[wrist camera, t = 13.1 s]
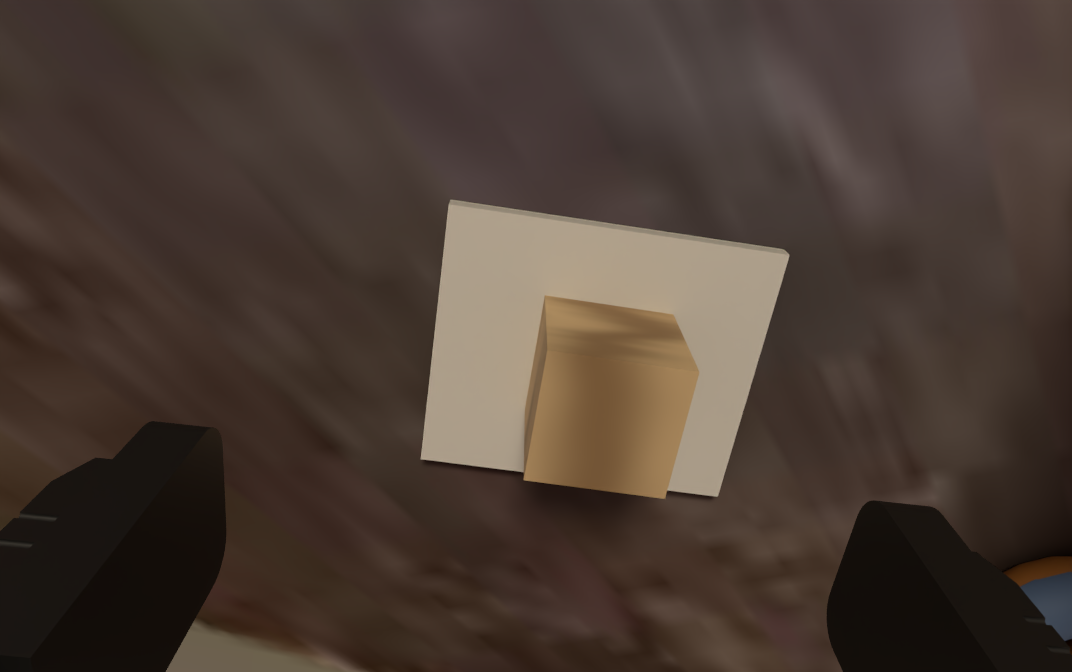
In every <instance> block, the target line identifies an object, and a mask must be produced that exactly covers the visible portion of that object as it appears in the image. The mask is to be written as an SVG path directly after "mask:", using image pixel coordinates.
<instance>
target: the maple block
mask: <svg viewBox="0 0 1072 672" xmlns="http://www.w3.org/2000/svg"><path fill="white" fill-rule="evenodd" d="M698 376H699V370H698V367H697V365H696V363H695V361H694V359H693V356H692V354H691V352H690V350H689V348H688V345H687V343H686V341H685V339H684V337H683V334H682V332H681V330H680V328H679V326H678V323H677V321H676V319H675V317H674V315H673V314H667V313H661V312H654V311H647V310H640V309H634V308H627V307H620V306H614V305H607V304H600V303H593V302H587V301H580V300H573V299H566V298H560V297H553V296H546V295H545V297H544V303H543V309H542V314H541V320H540V326H539V332H538V337H537V343H536V349H535V354H534V360H533V366H532V371H531V377H530V383H529V389H528V394H527V400H526V406H525V427H524V480H526V481H533V482H541V483H548V484H556V485H564V486H571V487H579V488H586V489H594V490H602V491H609V492H617V493H624V494H632V495H640V496H647V497H655V498H662V499H665V497H666V493H667V489H668V486H669V482H670V478H671V475H672V471H673V467H674V464H675V460H676V456H677V453H678V449H679V445H680V442H681V438H682V434H683V431H684V427H685V424H686V420H687V416H688V413H689V409H690V405H691V402H692V398H693V394H694V391H695V387H696V383H697V380H698Z"/></svg>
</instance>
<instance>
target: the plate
mask: <svg viewBox="0 0 1072 672" xmlns="http://www.w3.org/2000/svg"><path fill="white" fill-rule="evenodd" d="M789 256H790V255H789V254H788V253H787V252H786V251H785V250H784V249H778V248H772V247H765V246H758V245H752V244H745V243H738V242H731V241H725V240H718V239H711V238H705V237H698V236H691V235H685V234H678V233H671V232H665V231H658V230H651V229H645V228H638V227H631V226H625V225H618V224H611V223H604V222H598V221H591V220H584V219H578V218H571V217H564V216H558V215H551V214H544V213H538V212H531V211H524V210H518V209H511V208H504V207H497V206H491V205H484V204H477V203H471V202H464V201H457V200H450V203H449V207H448V216H447V225H446V234H445V243H444V253H443V262H442V271H441V280H440V289H439V298H438V307H437V316H436V325H435V334H434V344H433V353H432V362H431V371H430V380H429V389H428V398H427V407H426V416H425V425H424V435H423V444H422V453H421V459H424V460H432V461H440V462H448V463H455V464H463V465H471V466H479V467H487V468H495V469H503V470H511V471H518V472H524V427H525V406H526V400H527V394H528V389H529V383H530V377H531V371H532V366H533V360H534V354H535V349H536V343H537V337H538V332H539V326H540V320H541V314H542V309H543V303H544V297H545V295H546V296H553V297H560V298H566V299H573V300H580V301H587V302H593V303H600V304H607V305H614V306H620V307H627V308H634V309H640V310H647V311H654V312H661V313H667V314H673V315H674V317H675V319H676V321H677V323H678V326H679V328H680V330H681V332H682V334H683V337H684V339H685V341H686V343H687V345H688V348H689V350H690V352H691V354H692V356H693V359H694V361H695V363H696V365H697V367H698V370H699V376H698V380H697V383H696V387H695V391H694V394H693V398H692V402H691V405H690V409H689V413H688V416H687V420H686V424H685V427H684V431H683V434H682V438H681V442H680V445H679V449H678V453H677V456H676V460H675V464H674V467H673V471H672V475H671V478H670V482H669V486H668V489H667V490H668V491H676V492H684V493H692V494H700V495H707V496H715V497H718V494H719V491H720V487H721V484H722V481H723V477H724V474H725V470H726V467H727V464H728V460H729V457H730V454H731V450H732V447H733V444H734V440H735V437H736V434H737V430H738V427H739V423H740V420H741V417H742V413H743V410H744V407H745V403H746V400H747V397H748V393H749V390H750V387H751V383H752V380H753V376H754V373H755V370H756V366H757V363H758V360H759V356H760V353H761V350H762V346H763V343H764V340H765V336H766V333H767V329H768V326H769V323H770V319H771V316H772V313H773V309H774V306H775V303H776V299H777V296H778V293H779V289H780V286H781V283H782V279H783V276H784V272H785V269H786V266H787V262H788V259H789Z"/></svg>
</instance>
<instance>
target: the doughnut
mask: <svg viewBox="0 0 1072 672" xmlns="http://www.w3.org/2000/svg"><path fill="white" fill-rule="evenodd" d="M1003 573H1004V574H1005V575H1007V576H1008V577H1009V578H1011V579H1012V580H1013V581H1014V582H1016V583H1017V584H1018V585H1019V587H1020V588H1021V589H1022V590H1023V591H1024V593H1025V594H1026V595H1027V596H1028V597H1029V599H1030V600H1031V601H1032V602H1033V603H1034V605H1035V606H1036V607H1037V608H1038V610H1039V611H1040V612H1041V613H1042V614H1043V616H1044V617H1045V623H1046V625H1052V626H1053V628H1054V629H1055V630H1056V631H1057V632H1058V634H1059V635H1060V636H1061V637H1062V639H1063V640H1064V641H1066V640H1068V641H1067V642H1066V643H1067V645H1068V646H1069V647H1070V654H1071V655H1072V556H1052V557H1046V558H1042V559H1038V560H1034V561H1030V562H1026V563H1022V564H1019V565H1017V566H1015V567H1013V568H1011V569H1009V570H1007V571H1005V572H1003Z"/></svg>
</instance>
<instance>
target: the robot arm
mask: <svg viewBox="0 0 1072 672" xmlns="http://www.w3.org/2000/svg"><path fill="white" fill-rule="evenodd" d="M225 544H226V513H225V490H224V467H223V446H222V439H221V435H220V433H219V431H218V430H217V429H216V428H211V427H202V426H192V425H183V424H174V423H165V422H155V421H152V422H149V423H147V424H145V425H144V426H143V427H142V428H141V429H140V430H139V431H138V433H137V434H136V435H135V436H134V437H133V438H132V439H131V440H130V441H129V442H128V443H127V444H126V445H125V446H124V447H123V449H122V450H121V451H120V452H119V453H118V454H117V455H116V456H115V457H114V458H113V459H103V458H94V459H92V460H90V461H89V462H87V463H85V464H83V465H81V466H79V467H77V468H75V469H74V470H72V471H70V472H68V473H66V474H64V475H62V476H60V477H59V478H57V479H55V480H53V481H51V482H50V483H49V484H48V485H47V486H46V487H45V488H44V489H43V490H42V491H41V492H40V493H39V494H38V495H37V496H36V497H35V498H34V499H33V500H32V501H31V502H30V503H29V504H28V505H27V506H26V507H25V508H24V509H23V510H22V511H21V512H20V516H19V518H13V519H12V520H11V521H10V522H9V523H8V524H7V525H6V526H5V527H4V528H3V529H2V530H1V531H0V672H166V670H167V668H168V666H169V664H170V663H171V661H172V659H173V657H174V655H175V653H176V652H177V650H178V648H179V647H180V645H181V643H182V641H183V639H184V638H185V636H186V634H187V632H188V630H189V629H190V627H191V625H192V623H193V621H194V620H195V618H196V616H197V614H198V612H199V611H200V609H201V607H202V605H203V603H204V602H205V600H206V598H207V596H208V595H209V593H210V591H211V589H212V587H213V585H214V583H215V581H216V579H217V576H218V574H219V571H220V568H221V564H222V560H223V556H224V551H225ZM827 628H828V634H829V639H830V642H831V645H832V648H833V651H834V653H835V655H836V657H837V659H838V661H839V664H840V666H841V668H842V670H843V672H1072V655H1071V654H1070V647H1069V646H1068V645H1067V643H1066V642H1065V641H1064V640H1063V639H1062V637H1061V636H1060V635H1059V634H1058V632H1057V631H1056V630H1055V629H1054V628H1053V626H1052V625H1046V623H1045V617H1044V616H1043V614H1042V613H1041V612H1040V611H1039V610H1038V608H1037V607H1036V606H1035V605H1034V603H1033V602H1032V601H1031V600H1030V599H1029V597H1028V596H1027V595H1026V594H1025V593H1024V591H1023V590H1022V589H1021V588H1020V587H1019V585H1018V584H1017V583H1016V582H1014V581H1013V580H1012V579H1011V578H1009V577H1008V576H1007V575H1005V574H1004V573H1003V572H1001V571H1000V570H999V569H997V568H996V567H995V566H994V565H992V564H991V563H990V562H988V561H987V560H986V559H984V558H983V557H982V556H980V555H979V554H978V553H977V552H971V550H970V549H969V548H968V547H967V545H966V544H965V543H964V542H963V540H962V539H961V538H960V537H959V535H958V534H957V533H956V531H955V530H954V529H953V528H952V526H951V525H950V524H949V523H948V521H947V520H946V519H945V518H944V516H943V515H942V514H941V513H940V512H939V511H938V510H937V509H935V508H933V507H929V506H920V505H910V504H901V503H892V502H882V501H869V502H867V503H866V504H865V505H864V506H863V507H862V508H861V510H860V512H859V514H858V516H857V519H856V521H855V524H854V527H853V530H852V533H851V536H850V538H849V541H848V544H847V547H846V550H845V552H844V555H843V558H842V561H841V564H840V567H839V569H838V572H837V575H836V578H835V581H834V583H833V586H832V589H831V592H830V595H829V599H828V605H827Z"/></svg>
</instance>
